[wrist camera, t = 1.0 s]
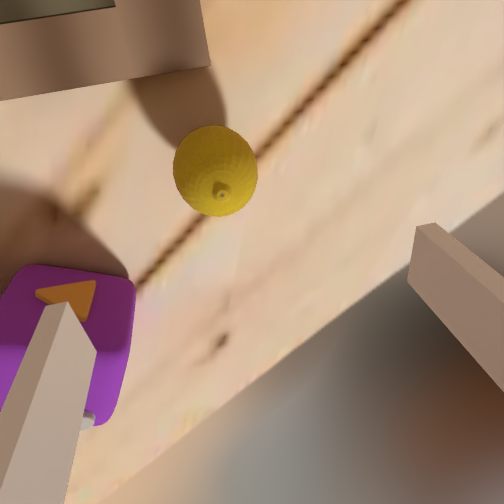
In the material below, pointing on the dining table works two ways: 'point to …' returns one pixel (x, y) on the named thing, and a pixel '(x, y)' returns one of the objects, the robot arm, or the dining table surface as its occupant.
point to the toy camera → (90, 317)
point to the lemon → (215, 170)
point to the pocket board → (95, 42)
